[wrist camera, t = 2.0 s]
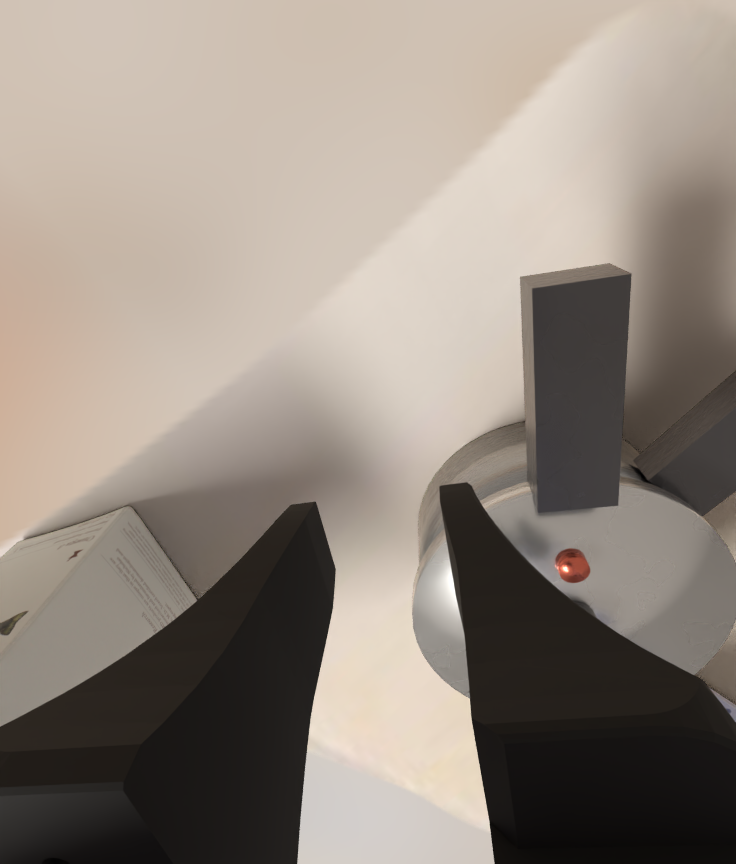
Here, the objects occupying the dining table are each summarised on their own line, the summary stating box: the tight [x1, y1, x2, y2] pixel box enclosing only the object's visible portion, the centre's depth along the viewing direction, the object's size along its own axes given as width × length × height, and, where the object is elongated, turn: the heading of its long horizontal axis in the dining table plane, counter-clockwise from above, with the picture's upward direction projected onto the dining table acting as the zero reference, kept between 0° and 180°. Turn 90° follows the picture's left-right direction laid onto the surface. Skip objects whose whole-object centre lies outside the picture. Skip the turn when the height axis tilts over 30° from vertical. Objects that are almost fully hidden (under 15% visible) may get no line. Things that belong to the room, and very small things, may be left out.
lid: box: [412, 263, 736, 698], centre depth 18 cm, size 18×12×2 cm, turn 10°
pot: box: [418, 371, 736, 565], centre depth 21 cm, size 11×18×4 cm, turn 144°
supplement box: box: [0, 506, 197, 727], centre depth 22 cm, size 7×7×13 cm
